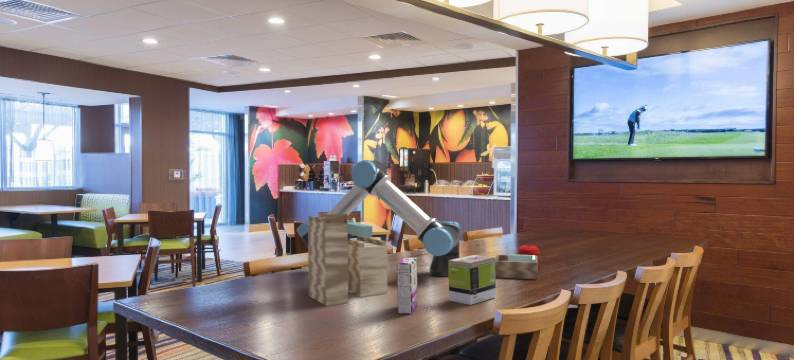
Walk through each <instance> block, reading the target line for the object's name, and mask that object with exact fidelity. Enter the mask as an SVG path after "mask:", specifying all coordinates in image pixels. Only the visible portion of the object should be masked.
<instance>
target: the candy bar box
mask: <svg viewBox="0 0 794 360" xmlns="http://www.w3.org/2000/svg"><path fill="white" fill-rule="evenodd" d="M417 262H418V261H417V257H402V258H401V259H400V260H399V261H398V262H397V263H396V277H397V278H396V279H397V280H396V282H397V314H403V315H412V314H413V313H414V311H415V310H416V309H417V307H418V267H417V266H418V265H417Z"/></svg>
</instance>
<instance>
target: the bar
mask: <svg viewBox="0 0 794 360" xmlns="http://www.w3.org/2000/svg"><path fill="white" fill-rule="evenodd" d="M348 234H351V235H352V236H356V237H358V236H359V237H369V238H373V225H369V224H365V223H364V224H363V223H358V222H356V223H354V222H350V220H348Z"/></svg>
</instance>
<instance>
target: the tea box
mask: <svg viewBox="0 0 794 360" xmlns="http://www.w3.org/2000/svg"><path fill="white" fill-rule="evenodd" d="M495 257H496V256H486V255H475V254H472V255H467V256H462V257H461V256H460V258H457V259H452V260H448V270H449V276H448V296H449V297H448V301H450V302H454V303H459V304H465V305H469V306H472V305H474V304H478V303H483V302H484V301H485V302H486V301H488V300H491V299H495V298H497V287H496V286H497V285H496V284H497V283H496V279H497V278H496V277H495Z"/></svg>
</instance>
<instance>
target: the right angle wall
mask: <svg viewBox="0 0 794 360" xmlns="http://www.w3.org/2000/svg"><path fill="white" fill-rule="evenodd" d="M507 255H508V261H516V262H535V255H519V254H507Z"/></svg>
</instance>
